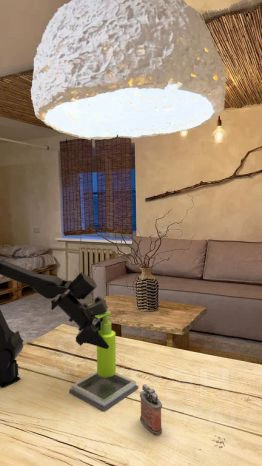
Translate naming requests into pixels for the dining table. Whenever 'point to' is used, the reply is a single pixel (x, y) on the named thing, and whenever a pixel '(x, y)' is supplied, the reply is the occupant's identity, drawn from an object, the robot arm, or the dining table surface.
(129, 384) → the holder
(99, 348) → the soap dispenser
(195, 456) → the dining table surface
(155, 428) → the lighter
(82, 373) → the dining table surface
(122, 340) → the dining table surface
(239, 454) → the dining table surface
